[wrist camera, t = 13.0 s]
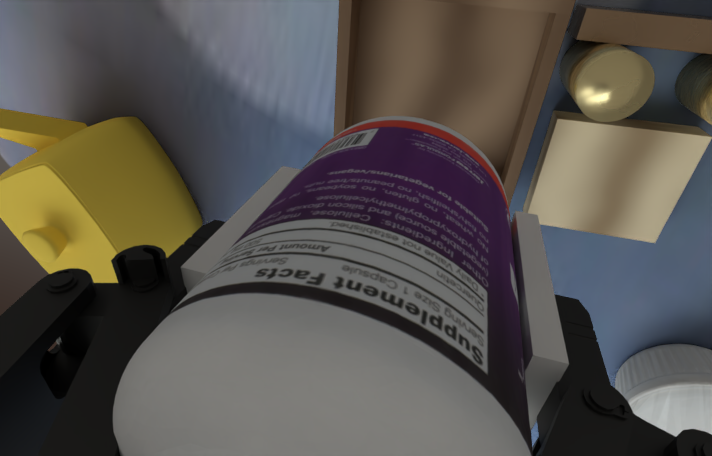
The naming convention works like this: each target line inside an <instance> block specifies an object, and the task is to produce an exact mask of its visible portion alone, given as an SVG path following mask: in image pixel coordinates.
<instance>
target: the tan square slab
mask: <svg viewBox="0 0 712 456" xmlns="http://www.w3.org/2000/svg"><path fill="white" fill-rule="evenodd" d="M711 139H712V136H710V135H709V134H707V133H706V132H705V131H703V130H702V129H701V128H699V127H696V126H688V125H679V124H670V123H661V122H652V121H643V120H635V119H626V118H624V119H621V120H617V121H612V122H600V121H596V120H593V119H591V118H589V117H587V116H586V115H585V114H582V113H573V112H564V111H555V110H553V113H552V117H551V120H550V123H549V126H548V129H547V133H546V136H545V139H544V142H543V146H542V149H541V152H540V155H539V158H538V162H537V165H536V168H535V171H534V174H533V178H532V181H531V184H530V187H529V190H528V194H527V197H526V200H525V203H524V206H523V212H525V213H530V214H535V215H538V219H539V224H542V225H548V226H555V227H561V228H567V229H573V230H579V231H585V232H591V233H597V234H603V235H609V236H615V237H621V238H627V239H633V240H639V241H645V242H652V243H655V242H656V240H657V238H658V236H659V234H660V233H661V231H662V229H663V227H664V225H665V223H666V222H667V220H668V218H669V216H670V214H671V212H672V210H673V209H674V207H675V205H676V203H677V201H678V199H679V198H680V196H681V194H682V192H683V190H684V188H685V187H686V185H687V183H688V181H689V179H690V177H691V176H692V174H693V172H694V170H695V168H696V166H697V164H698V163H699V161H700V159H701V157H702V155H703V153H704V152H705V150H706V148H707V146H708V144H709V142H710V141H711Z"/></svg>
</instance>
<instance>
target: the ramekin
mask: <svg viewBox="0 0 712 456" xmlns="http://www.w3.org/2000/svg"><path fill="white" fill-rule="evenodd" d="M615 389H616V390H618V391H619V392H620V393H621V394H622V395H623V396H624V398H625V399H626V400H627V401H628V403H629V405H630V407H631V409H632V411H633V413H634V414H635V415H636V416H638V417H640V418H641V419H643V420H645V421H646V422H648V423H650V424H652V425H654V426H656V427H658V428H660V429H662V430H664V431H666V432H668V433H670V434H672V435H674V436H677V435H678V434H679V433H680V432H681V431H683V430H687V429H696V430H701V431H705V432H708V433H710V434H711V435H712V350H710V349H707V348H703V347H700V346H695V345H688V344H667V345H660V346H655V347H651V348H648V349H645V350H643V351H640V352H638V353H636V354H635V355H633V356H631V357H630V358H629V359H628V360H627V361H626V362H625V363H623V365H622V366H621V367H620V368H619V371H618V372H617V375H616V379H615Z"/></svg>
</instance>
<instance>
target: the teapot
mask: <svg viewBox="0 0 712 456" xmlns="http://www.w3.org/2000/svg"><path fill="white" fill-rule="evenodd" d="M0 137H1V138H4V139H8V140H11V141H14V142H17V143H20V144H23V145H26V146H29V147H33V148H36V150H37V152H36V153H34V154H32V155H31V156H29V157H27V158H26V159H24V160H22V161H20V162H19V163H17V164H16V165H14V166H13V167H11V168H10V169H8V170H7V171H5V172H4V173H3V174H1V175H0V218H1V219H2V220H3V221H4V222H5V224H6V225H7V226H8V227H9V229H10V230H11V231H12V232H13V234H14V235H15V236H16V237H17V238H18V240H19V241H20V242H21V243H22V244H23V246H24V247H25V248H26V249H27V250H28V251H29V252H30V253H31V255H32V256H33V257H34V258H35V259H36V260H37V261H38V262H39V263H40V264H41V266H42V267H43V268H44V269H45V270H46V271H47V272H48V273H49V274H52V273H54V272H56V271H60V270H64V269H69V268H79V269H83V270H86V271H87V272H88V273H89V274H90V275H91V277H92V280H93V282H94V283H118V280H117V277H116V274H115V271H114V268H113V265H112V262H111V260H112V259H113V258H114V257H115V255H116V254H118V253H120V252H121V251H123V250H125V249H128V248H131V247H133V246H139V245H155V246H157V247H159V248H162V249H163V251H164V252H165V253H166V258H168V257H169V256H170V255H171V254H172V253H173V252H174V251H175V250H176V249H177V248H179V247H180V246H181V245H182V244H184V242H185V241H186V240H187V239H188V238H189V237H192V235H193V234H194V233H195V232H196V231H197V230H198V229H199V228H200V227H201V226H202V223H203V222H202V218H201V215H200V213H199V210H198V208H197V206H196V204H195V202H194V200H193V198H192V196H191V194H190V192H189V191H188V189H187V187H186V185H185V183H184V181H183V179H182V178H181V176H180V174H179V173H178V171H177V169H176V168H175V166H174V165H173V163H172V162H171V160H170V159H169V157H168V156H167V154H166V153H165V152H164V150H163V149H162V147H161V146H160V144H159V143H158V142H157V140H156V139H155V137H154V136H153V135H152V133H151V132H150V131H149V129H148V128H147V127H146V126H145V125H144V123H143V122H142V121H141V120H139V119H138V118H137V117H131V116H130V117H117V118H112V119H109V120H106V121H103V122H100V123H97V124H94V125H92V126H89V127H88V126H87V125H86V124H85V123H82V122H76V121H70V120H64V119H59V118H53V117H47V116H41V115H35V114H29V113H23V112H18V111H12V110H6V109H0Z"/></svg>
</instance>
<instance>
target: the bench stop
mask: <svg viewBox="0 0 712 456" xmlns="http://www.w3.org/2000/svg"><path fill="white" fill-rule="evenodd" d="M568 34H570V35H571V36H572V37H574V38H575V39H577V40H581V41H579V42H577V43H576V44H575V45H573V46H572V47H571V48H570V49H569V50H568V51H567V53H566V54H565V55H564V57H563V59H562V62H561V65H560V70H559V74H560V79H561V82H562V84H563V85H564V87H565V88H566V89H567V91H568V92H569V94H570V95H571V97H572V98H573V99H574V101H575V102H576V104H577V105H578V107H579V108H580V109H581V111H582V112H583V113H584V114H585V115H586V116H587V117H589V118H591V119H593V120H596V121H600V122H612V121H617V120H621V119H624V118H626V117H628V116H630V115H632V114H633V113H635V112H636V111H637V110H639V109H640V108H641V107H642V106H643V105H644V104H645V102H646V101H647V100H648V98H649V97H650V95H651V93H652V90H653V87H654V82H655V76H654V71H653V68H652V66H651V64H650V63H649V62H648V61H647V60H646V59H645V58H644V57H642V56H640V55H638V54H637V53H635V52H633V51H631V50H629V49H627V48H626V47H624V46H622V45H620V44H623V45H632V46H641V47H650V48H659V49H668V50H678V51H687V52H696V53H704V54H702V55H700V56H698V57H696V58H695V59H693V60H692V61H691V62H689V63H688V64H687V65H686V66H685V67H684V68H683V70H682V71H681V72H680V74H679V76H678V78H677V80H676V84H675V95H676V98H677V99H678V101H679V102H680V103H681V104H682V105H683V106H685V107H686V108H688V109H689V110H691V111H692V112H694V113H695V114H697V115H698V116H699V117H701V118H702V119H704V120H705V121H707V122H708V123H710V124H711V125H712V17H706V16H695V15H685V14H674V13H664V12H653V11H643V10H632V9H622V8H611V7H600V6H590V5H579V4H577V5H576V8H575V11H574V14H573V17H572V20H571V23H570V26H569V30H568Z"/></svg>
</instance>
